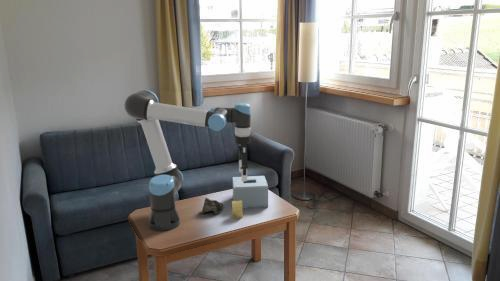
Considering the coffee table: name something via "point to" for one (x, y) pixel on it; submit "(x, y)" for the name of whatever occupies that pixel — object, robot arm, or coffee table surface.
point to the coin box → (251, 191)
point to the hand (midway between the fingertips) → (243, 176)
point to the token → (237, 209)
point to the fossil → (212, 206)
